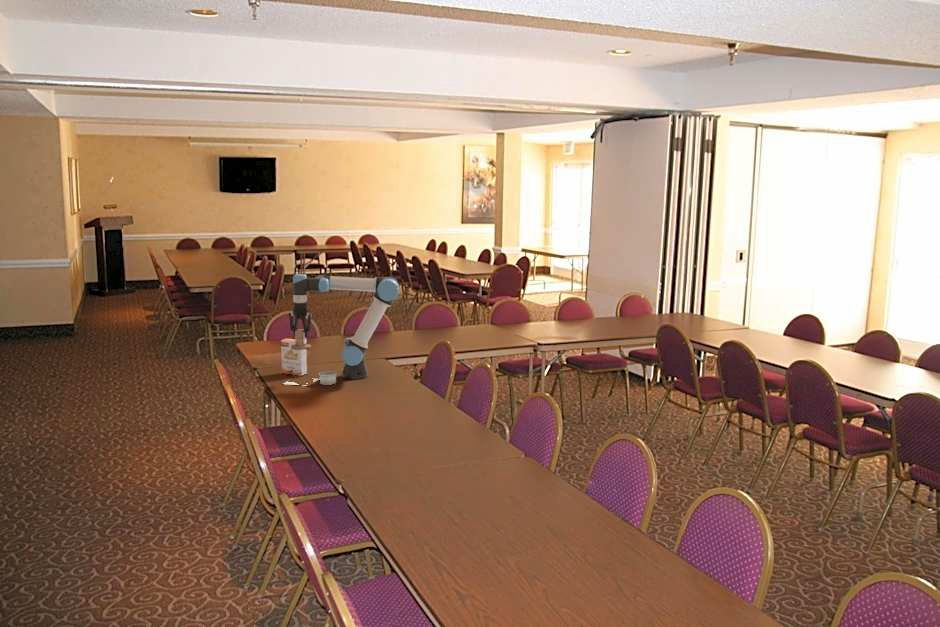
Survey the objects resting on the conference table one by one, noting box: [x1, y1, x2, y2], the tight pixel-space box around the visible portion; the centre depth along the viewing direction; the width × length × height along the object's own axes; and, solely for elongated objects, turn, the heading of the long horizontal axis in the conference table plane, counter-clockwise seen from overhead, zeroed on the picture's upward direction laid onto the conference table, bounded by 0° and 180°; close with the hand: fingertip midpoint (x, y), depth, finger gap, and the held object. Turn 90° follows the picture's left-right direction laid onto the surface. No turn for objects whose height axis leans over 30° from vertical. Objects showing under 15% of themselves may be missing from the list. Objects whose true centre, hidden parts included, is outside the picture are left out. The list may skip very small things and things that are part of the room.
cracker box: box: [280, 338, 308, 376], centre depth 456 cm, size 14×6×21 cm, turn 68°
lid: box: [291, 328, 312, 350], centre depth 436 cm, size 11×11×10 cm
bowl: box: [318, 370, 338, 386], centre depth 436 cm, size 10×10×6 cm
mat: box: [282, 378, 320, 387], centre depth 440 cm, size 16×16×1 cm
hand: (300, 343), depth 436 cm, fingers closed on lid, 4 cm apart
